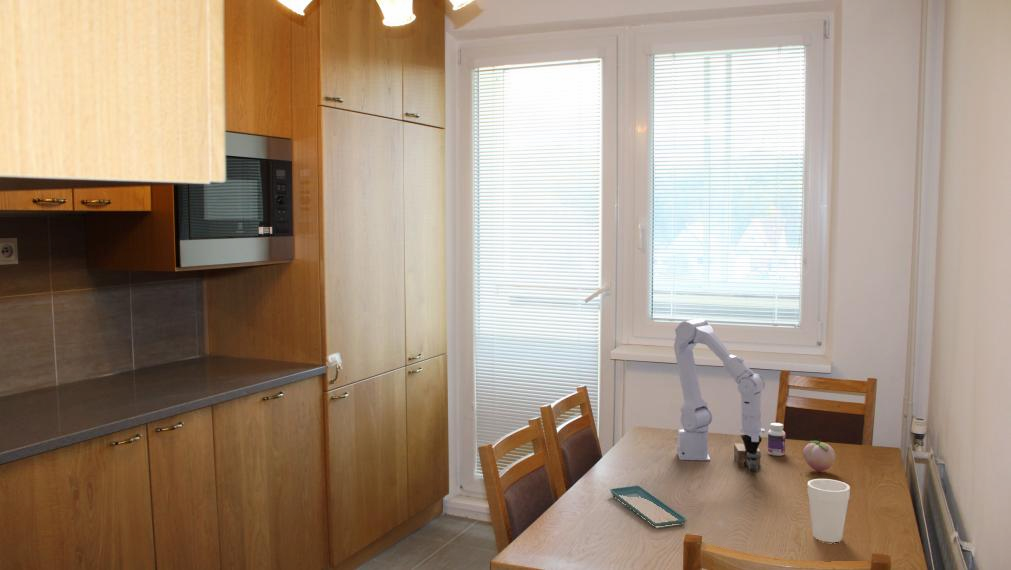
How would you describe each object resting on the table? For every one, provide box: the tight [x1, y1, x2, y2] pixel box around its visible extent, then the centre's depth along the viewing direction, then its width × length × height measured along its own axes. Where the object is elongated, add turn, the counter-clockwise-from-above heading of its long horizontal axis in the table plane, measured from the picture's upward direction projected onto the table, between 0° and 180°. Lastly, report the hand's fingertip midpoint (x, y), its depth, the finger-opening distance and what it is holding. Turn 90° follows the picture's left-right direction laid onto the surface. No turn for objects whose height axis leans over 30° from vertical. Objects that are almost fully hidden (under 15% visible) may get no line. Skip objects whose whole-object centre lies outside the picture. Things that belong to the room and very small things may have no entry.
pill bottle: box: [767, 422, 786, 457], centre depth 263 cm, size 5×5×10 cm
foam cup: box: [806, 478, 851, 542], centre depth 194 cm, size 10×9×13 cm
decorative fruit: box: [802, 439, 836, 473], centre depth 244 cm, size 9×8×10 cm
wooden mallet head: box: [733, 443, 761, 468], centre depth 254 cm, size 7×8×5 cm
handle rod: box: [744, 451, 762, 474], centre depth 249 cm, size 4×18×6 cm, turn 173°
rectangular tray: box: [609, 485, 688, 526], centre depth 214 cm, size 26×9×2 cm, turn 18°
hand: (751, 459), depth 247 cm, fingers closed, pressing on handle rod
